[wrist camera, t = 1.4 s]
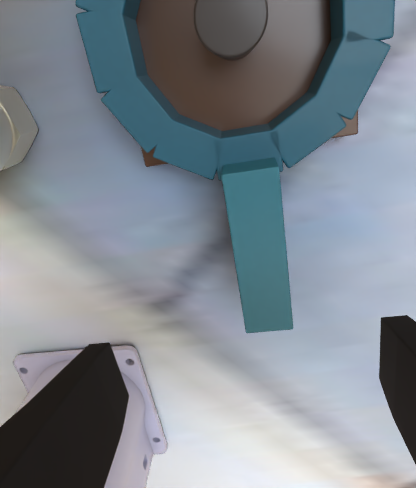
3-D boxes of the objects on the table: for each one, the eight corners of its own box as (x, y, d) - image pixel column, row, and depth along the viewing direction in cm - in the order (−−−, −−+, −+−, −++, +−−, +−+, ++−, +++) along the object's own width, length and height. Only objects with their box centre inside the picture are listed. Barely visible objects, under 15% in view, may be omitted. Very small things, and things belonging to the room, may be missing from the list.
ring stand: (349, 129, 16) (400, 157, 11) (151, 160, 17) (116, 198, 12) (348, -148, 12) (424, -295, 7) (94, -82, 13) (10, -169, 8)
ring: (370, 279, 18) (396, 321, 15) (166, 300, 19) (153, 341, 16) (380, -202, 11) (432, -301, 8) (59, -114, 12) (3, -169, 9)
